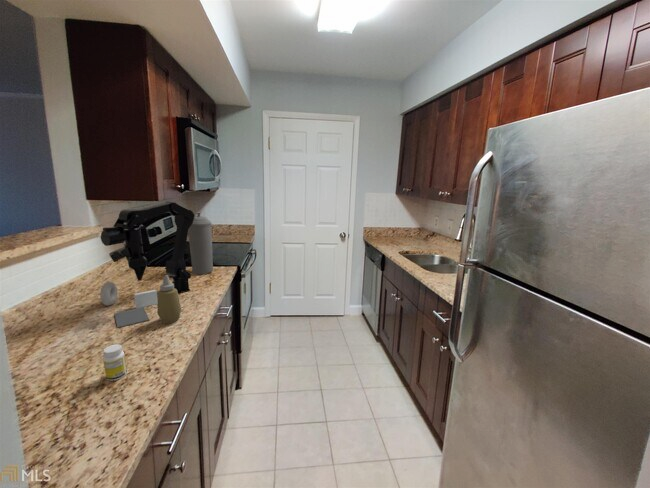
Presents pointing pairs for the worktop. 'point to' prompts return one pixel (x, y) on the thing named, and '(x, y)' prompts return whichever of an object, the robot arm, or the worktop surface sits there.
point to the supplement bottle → (114, 362)
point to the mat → (131, 317)
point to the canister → (201, 245)
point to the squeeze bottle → (168, 302)
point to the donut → (108, 293)
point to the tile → (145, 299)
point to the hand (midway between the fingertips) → (138, 277)
